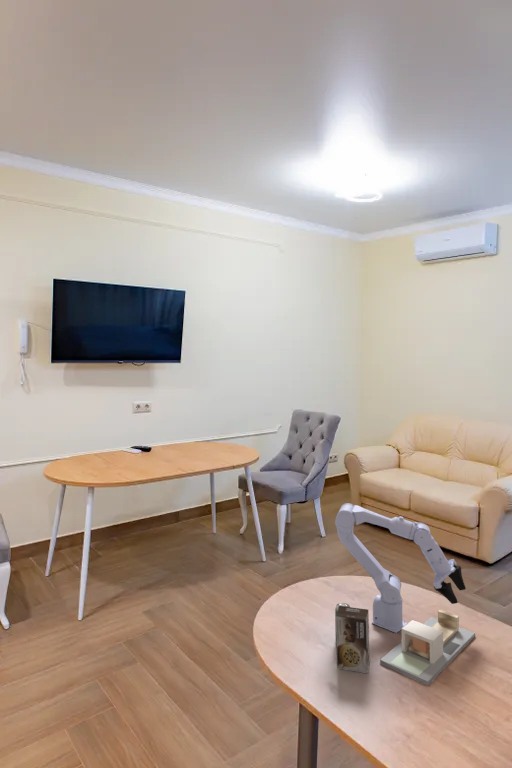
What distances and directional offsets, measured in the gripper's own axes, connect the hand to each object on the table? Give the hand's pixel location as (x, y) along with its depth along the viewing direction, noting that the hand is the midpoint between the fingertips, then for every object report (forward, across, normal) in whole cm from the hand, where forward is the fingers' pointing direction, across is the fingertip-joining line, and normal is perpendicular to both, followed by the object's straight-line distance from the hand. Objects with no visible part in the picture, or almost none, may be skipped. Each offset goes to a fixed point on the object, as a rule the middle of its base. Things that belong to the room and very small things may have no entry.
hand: (458, 596), depth 162 cm
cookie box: (-4, -39, +18) cm, 43 cm away
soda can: (-7, -30, +26) cm, 41 cm away
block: (+3, -21, +6) cm, 22 cm away
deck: (+6, -17, +8) cm, 20 cm away
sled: (+6, -13, +7) cm, 16 cm away
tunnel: (+4, -22, +7) cm, 23 cm away
